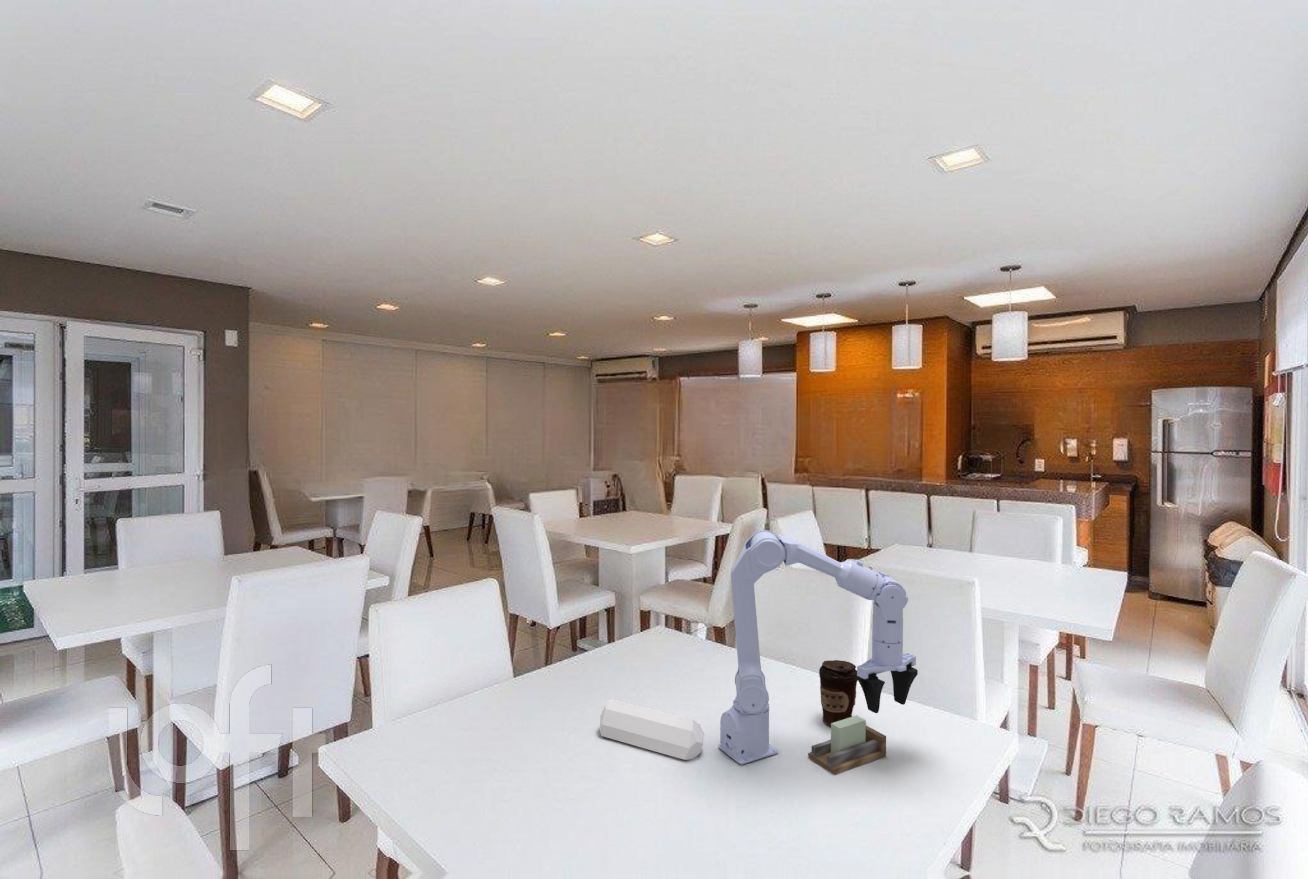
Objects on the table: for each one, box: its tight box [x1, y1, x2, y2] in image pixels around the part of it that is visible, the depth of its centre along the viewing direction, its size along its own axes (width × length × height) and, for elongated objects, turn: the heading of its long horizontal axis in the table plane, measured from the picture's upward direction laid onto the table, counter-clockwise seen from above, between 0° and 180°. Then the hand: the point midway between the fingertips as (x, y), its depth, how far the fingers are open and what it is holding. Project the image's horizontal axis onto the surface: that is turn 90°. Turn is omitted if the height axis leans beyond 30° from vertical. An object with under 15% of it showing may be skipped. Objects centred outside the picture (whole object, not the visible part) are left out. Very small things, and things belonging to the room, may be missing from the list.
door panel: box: [830, 715, 867, 754], centre depth 128 cm, size 7×2×6 cm, turn 119°
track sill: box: [807, 725, 887, 776], centre depth 128 cm, size 14×7×4 cm, turn 119°
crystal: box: [599, 698, 705, 761], centre depth 133 cm, size 7×7×24 cm
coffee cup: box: [818, 659, 859, 727], centre depth 142 cm, size 9×8×13 cm
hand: (886, 706), depth 128 cm, fingers open, 7 cm apart
